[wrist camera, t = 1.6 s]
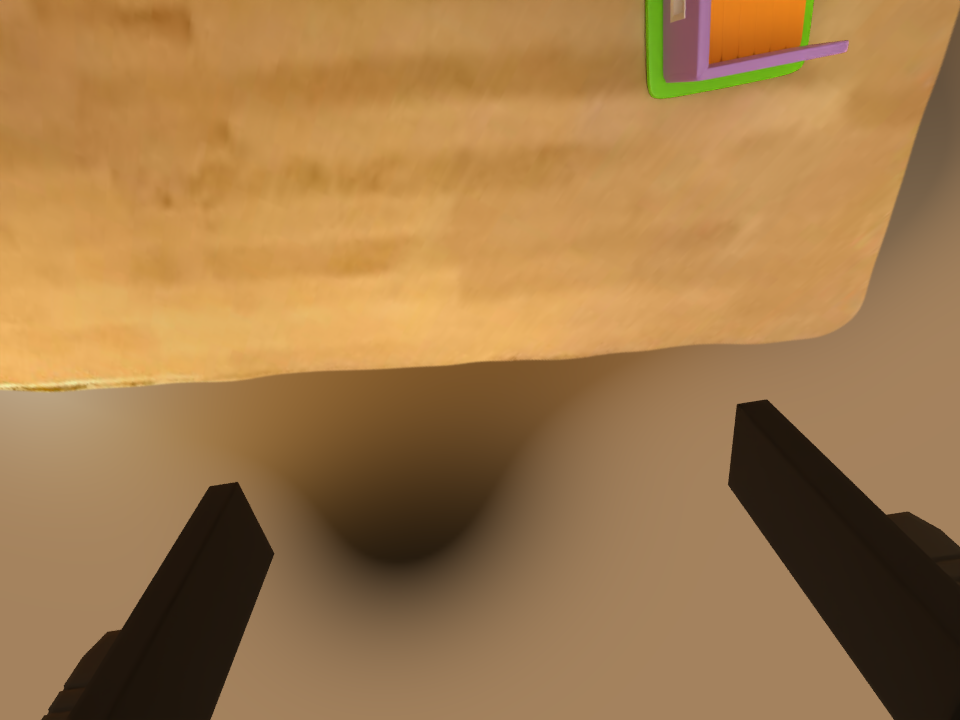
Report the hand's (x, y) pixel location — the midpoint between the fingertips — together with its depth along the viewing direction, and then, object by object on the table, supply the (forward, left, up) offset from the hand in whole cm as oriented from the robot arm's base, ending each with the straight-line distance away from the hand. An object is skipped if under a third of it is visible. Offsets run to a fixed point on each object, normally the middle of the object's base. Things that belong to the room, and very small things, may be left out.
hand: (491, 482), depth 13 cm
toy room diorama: (+11, +22, -33) cm, 41 cm away
